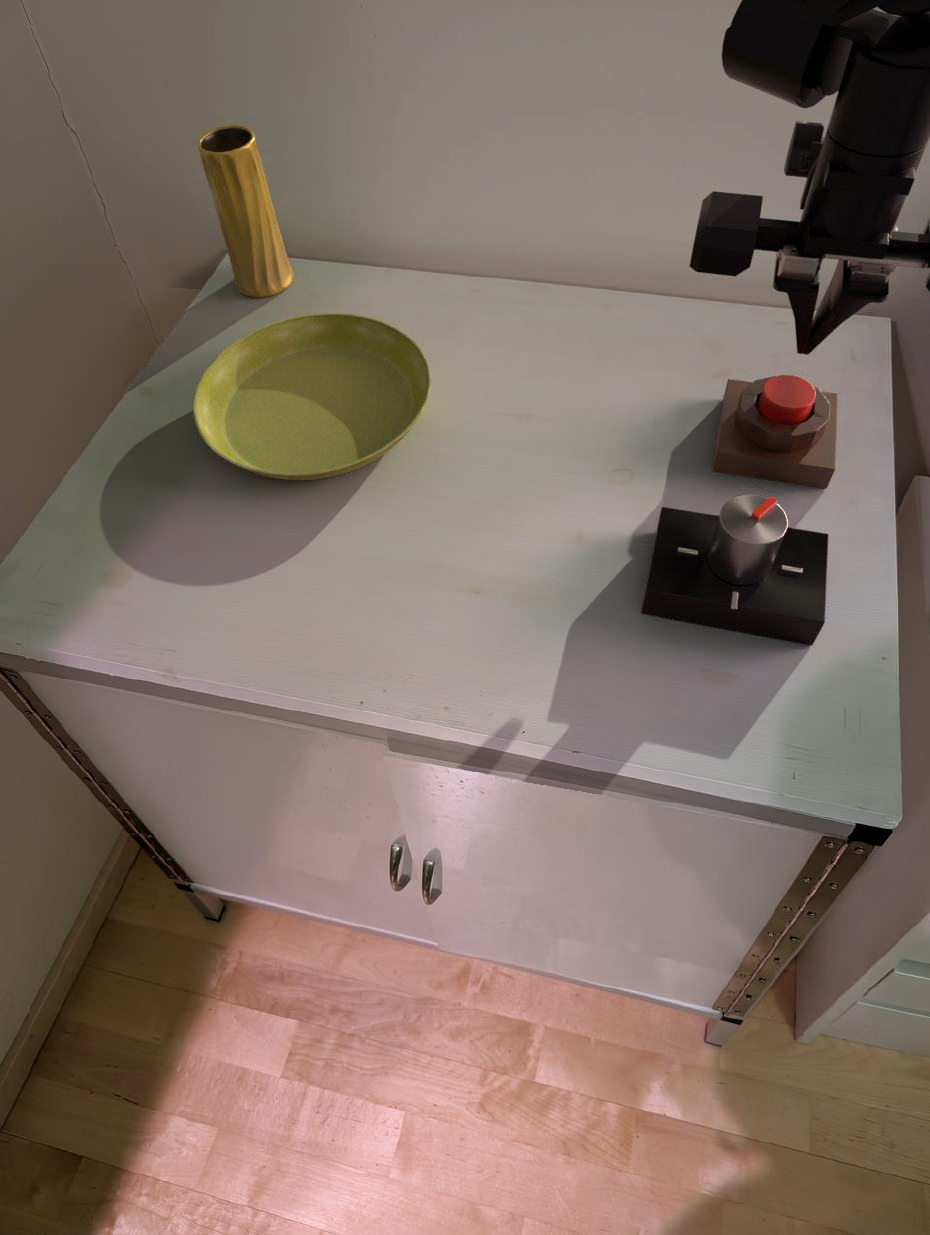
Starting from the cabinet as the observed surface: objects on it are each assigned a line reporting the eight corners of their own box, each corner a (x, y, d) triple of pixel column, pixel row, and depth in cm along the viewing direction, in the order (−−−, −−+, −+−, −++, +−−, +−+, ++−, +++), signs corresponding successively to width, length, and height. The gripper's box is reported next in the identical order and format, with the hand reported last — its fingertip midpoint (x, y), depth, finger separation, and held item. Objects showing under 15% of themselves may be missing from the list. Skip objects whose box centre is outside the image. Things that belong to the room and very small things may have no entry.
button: (810, 395, 68) (817, 378, 66) (808, 428, 66) (815, 411, 64) (759, 388, 69) (765, 371, 67) (756, 421, 66) (761, 404, 65)
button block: (830, 413, 72) (845, 376, 68) (826, 489, 67) (842, 452, 63) (722, 398, 73) (732, 361, 70) (712, 471, 68) (722, 434, 65)
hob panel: (816, 556, 63) (829, 529, 60) (812, 650, 58) (825, 624, 56) (656, 529, 65) (662, 501, 63) (639, 617, 61) (645, 591, 58)
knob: (746, 596, 58) (763, 552, 54) (694, 561, 60) (707, 516, 56) (783, 560, 59) (802, 514, 55) (732, 527, 61) (747, 481, 57)
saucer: (288, 320, 83) (281, 291, 80) (474, 375, 77) (472, 346, 74) (155, 455, 73) (142, 428, 70) (356, 532, 67) (349, 504, 64)
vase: (224, 291, 86) (178, 149, 75) (256, 259, 89) (216, 117, 78) (274, 303, 85) (235, 160, 73) (305, 270, 88) (272, 127, 76)
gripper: (1035, 82, 52) (932, 301, 65) (729, 62, 56) (689, 273, 69) (1055, 174, 46) (937, 395, 59) (712, 145, 50) (671, 360, 63)
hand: (802, 350), depth 62 cm, fingers closed
